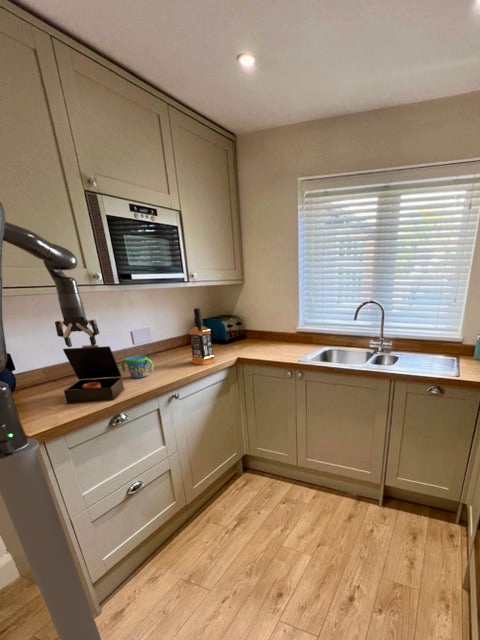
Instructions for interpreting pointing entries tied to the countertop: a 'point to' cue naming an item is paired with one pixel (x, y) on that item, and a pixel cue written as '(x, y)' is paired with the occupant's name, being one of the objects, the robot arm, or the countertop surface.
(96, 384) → the orange clay pot
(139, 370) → the snack cup
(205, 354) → the whiskey bottle
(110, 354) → the lid
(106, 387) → the black box base
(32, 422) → the countertop surface
